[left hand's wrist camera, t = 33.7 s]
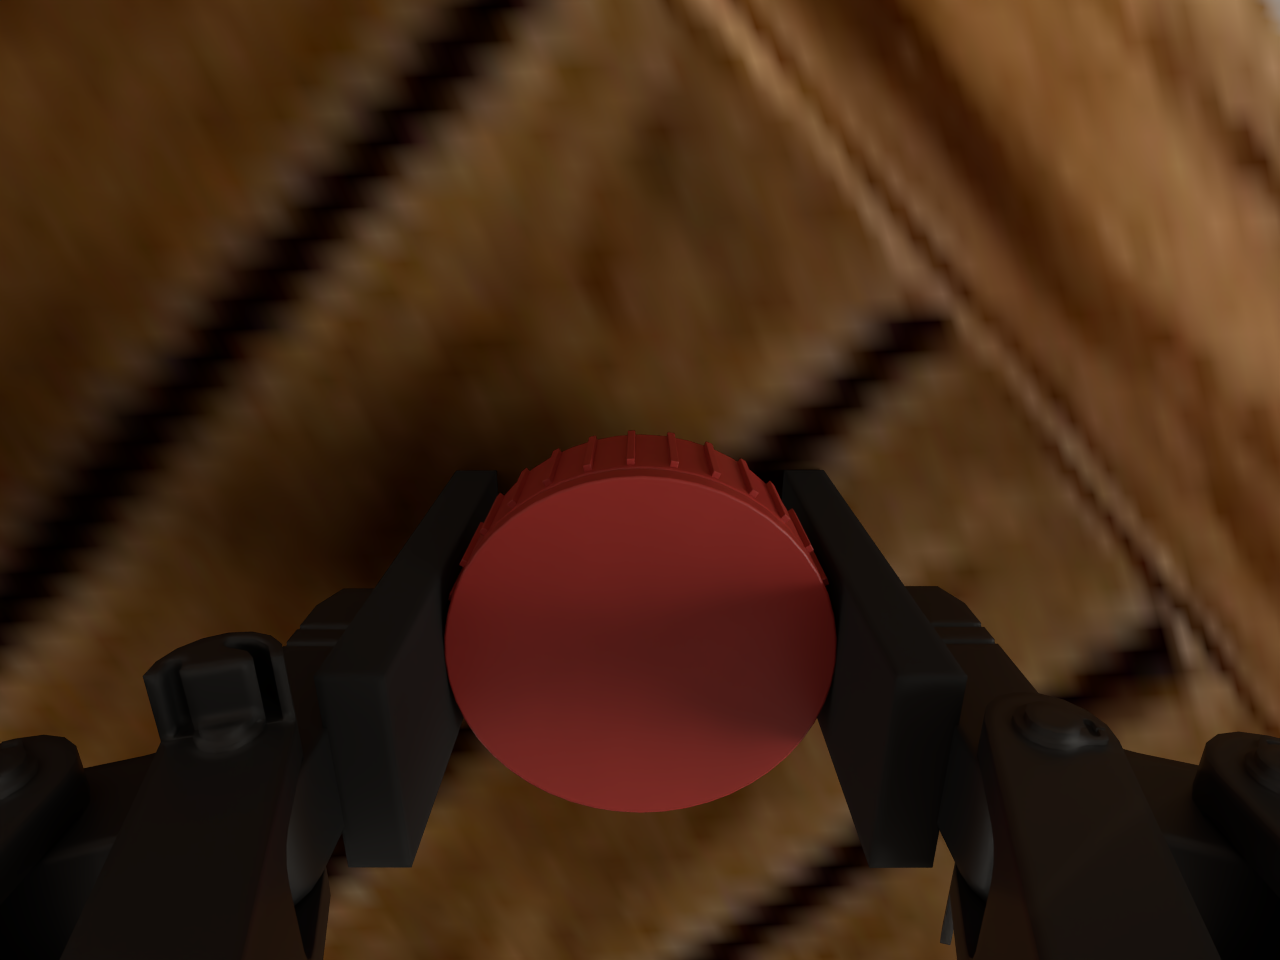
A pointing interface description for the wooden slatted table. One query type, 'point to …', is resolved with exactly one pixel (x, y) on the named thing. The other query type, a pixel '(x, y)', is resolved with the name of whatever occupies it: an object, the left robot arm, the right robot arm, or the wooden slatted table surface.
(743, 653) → the lid
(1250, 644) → the wooden slatted table surface
